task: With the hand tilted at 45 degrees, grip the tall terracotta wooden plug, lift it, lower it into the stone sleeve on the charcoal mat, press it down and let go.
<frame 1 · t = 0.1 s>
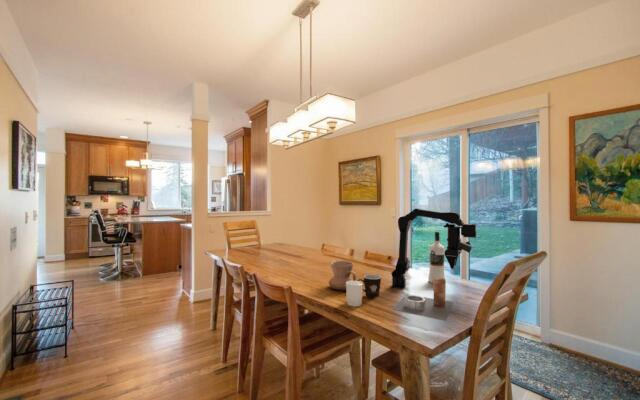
hand: (453, 266, 150), 15 cm above the table, tool pointing down, fingers open, 9 cm apart
vodka: (436, 282, 174), on the table
white cup: (354, 304, 138), on the table
coffee mug: (369, 296, 149), on the table
charcoal mat: (423, 308, 133), on the table
ceramic jug: (342, 289, 161), on the table
terracotta plug: (439, 305, 133), point 1 cm above the table, touching charcoal mat
stone sleeve: (415, 307, 131), resting on charcoal mat
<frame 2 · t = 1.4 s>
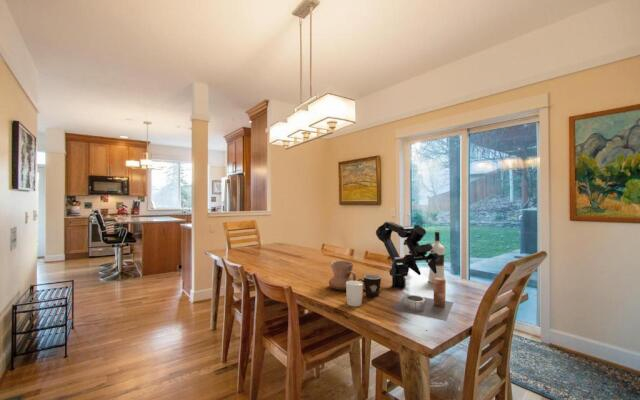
hand: (428, 273, 141), 13 cm above the table, tool tilted 45°, fingers open, 9 cm apart
nothing on the table moved.
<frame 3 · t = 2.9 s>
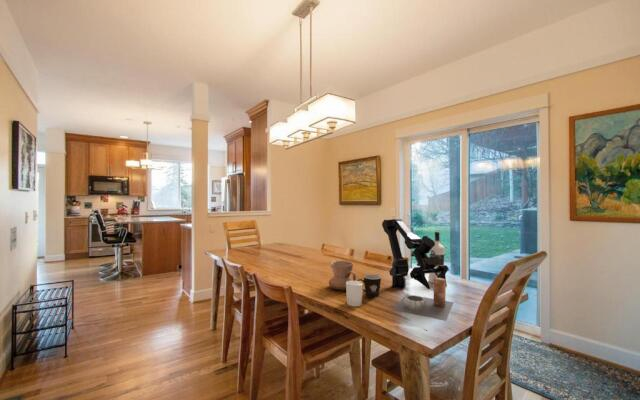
hand: (437, 287, 134), 9 cm above the table, tool tilted 45°, fingers open, 9 cm apart
nothing on the table moved.
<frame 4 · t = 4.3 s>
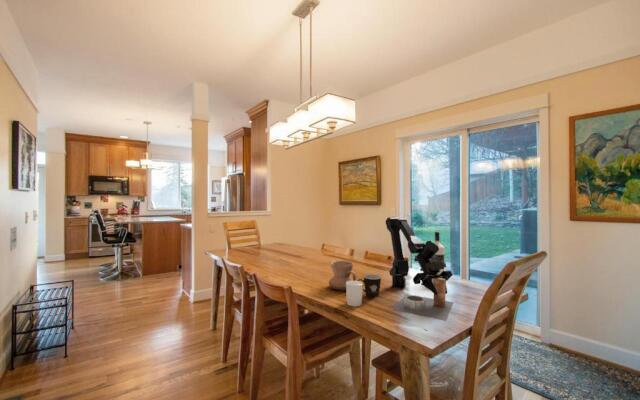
hand: (441, 293, 132), 7 cm above the table, tool tilted 45°, fingers closed on terracotta plug, 5 cm apart
terracotta plug: (439, 305, 133), point 1 cm above the table, touching charcoal mat, gripper
everything else where it was.
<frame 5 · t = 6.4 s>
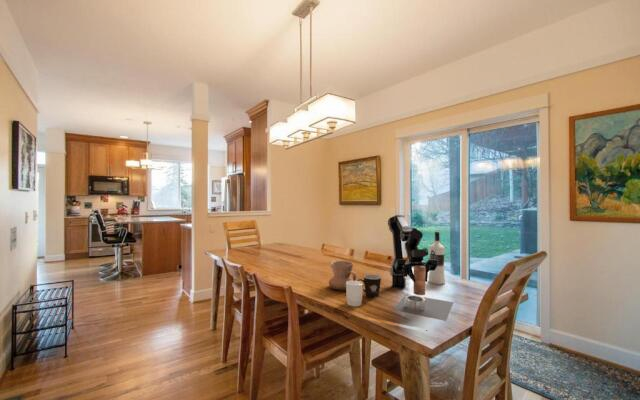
hand: (420, 281, 130), 13 cm above the table, tool tilted 45°, fingers closed on terracotta plug, 5 cm apart
terracotta plug: (419, 293, 131), point 7 cm above the table, touching gripper
everything else where it was.
when the fingers open (7 cm above the table, at t = 8.6 s): terracotta plug stays where it is, resting on charcoal mat.
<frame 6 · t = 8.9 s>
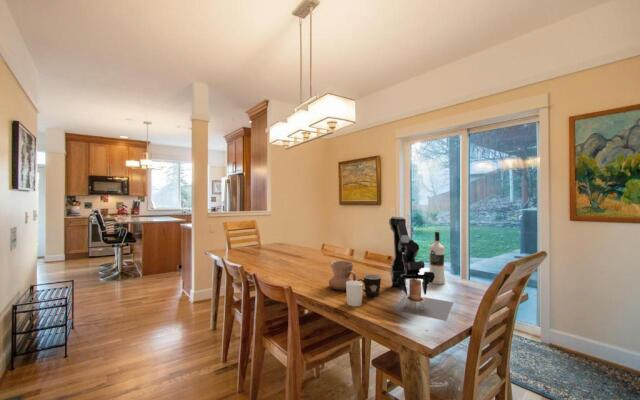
hand: (415, 294, 130), 7 cm above the table, tool tilted 45°, fingers open, 8 cm apart
terracotta plug: (415, 307, 131), point 1 cm above the table, touching charcoal mat
everything else where it was.
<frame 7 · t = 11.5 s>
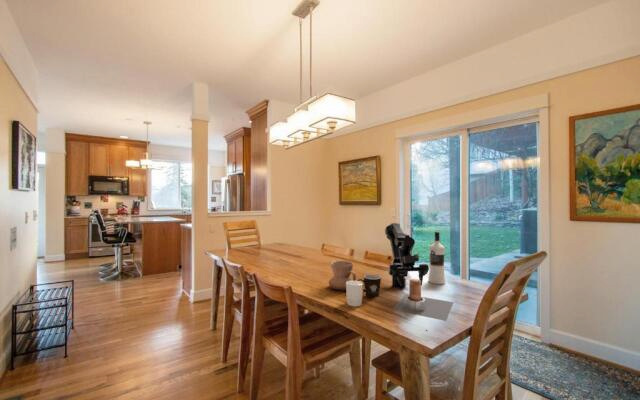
hand: (411, 285, 140), 8 cm above the table, tool tilted 45°, fingers open, 9 cm apart
nothing on the table moved.
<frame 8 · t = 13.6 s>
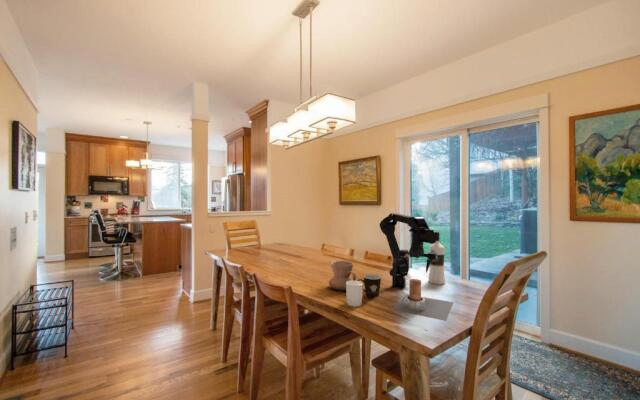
hand: (417, 271, 152), 12 cm above the table, tool pointing down, fingers open, 9 cm apart
nothing on the table moved.
at the end: terracotta plug 0.0 cm off-centre on the stone sleeve, point 0.0 cm above the stone sleeve's base; terracotta plug tilted 0°; the gripper is holding nothing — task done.
